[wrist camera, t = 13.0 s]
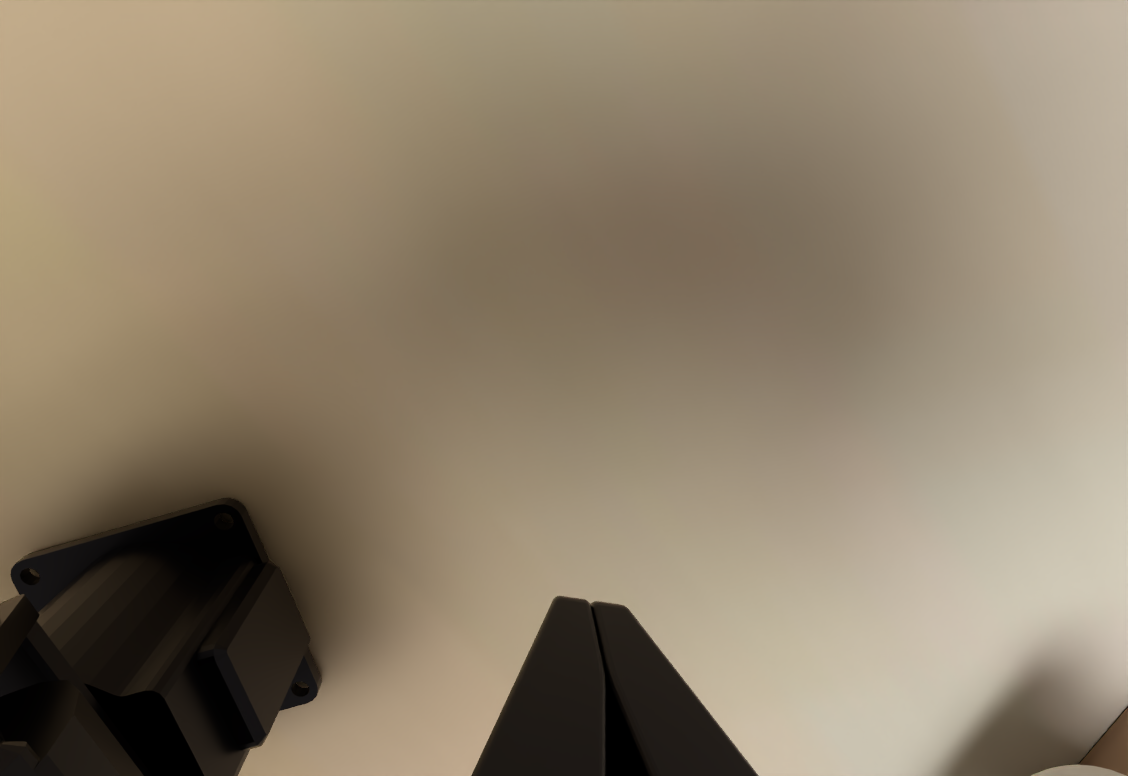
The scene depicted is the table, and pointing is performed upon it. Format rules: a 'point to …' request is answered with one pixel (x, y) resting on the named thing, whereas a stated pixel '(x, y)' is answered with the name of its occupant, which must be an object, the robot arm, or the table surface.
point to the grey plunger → (1078, 771)
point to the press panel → (1111, 748)
